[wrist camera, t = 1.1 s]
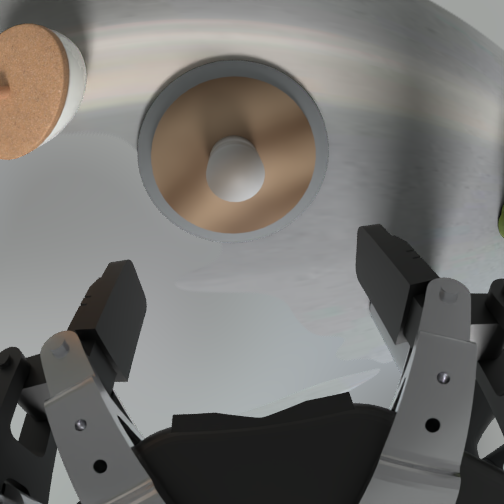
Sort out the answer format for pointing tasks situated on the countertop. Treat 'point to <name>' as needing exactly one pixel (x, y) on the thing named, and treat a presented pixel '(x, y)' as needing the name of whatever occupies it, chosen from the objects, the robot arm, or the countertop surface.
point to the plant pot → (501, 223)
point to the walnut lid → (233, 155)
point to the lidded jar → (37, 87)
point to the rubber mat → (229, 70)
